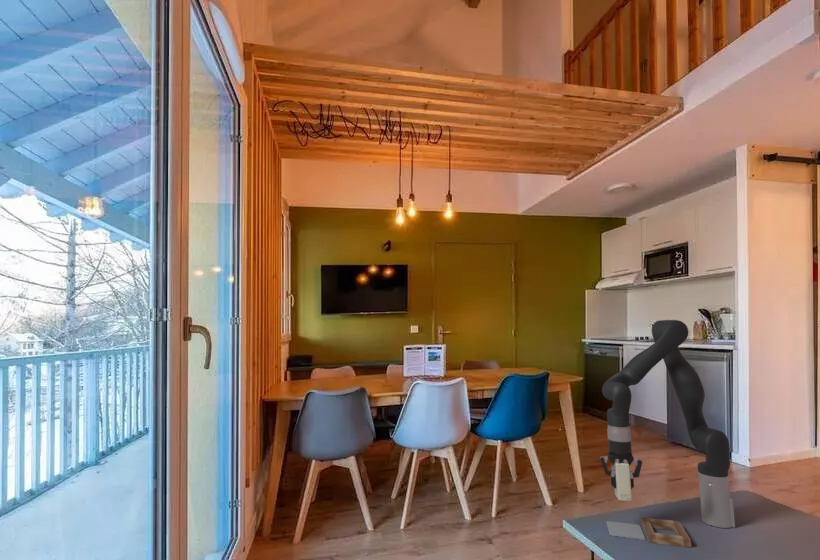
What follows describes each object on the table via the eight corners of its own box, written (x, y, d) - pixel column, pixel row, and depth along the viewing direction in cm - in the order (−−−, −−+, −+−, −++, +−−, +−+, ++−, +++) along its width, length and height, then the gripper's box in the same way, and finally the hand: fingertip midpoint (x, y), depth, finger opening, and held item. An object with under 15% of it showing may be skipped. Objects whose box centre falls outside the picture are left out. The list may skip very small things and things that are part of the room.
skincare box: (632, 501, 152) (630, 465, 153) (618, 500, 153) (616, 464, 154) (627, 494, 158) (625, 459, 159) (614, 494, 159) (612, 459, 160)
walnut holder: (679, 528, 155) (679, 521, 155) (691, 547, 142) (690, 539, 142) (641, 524, 159) (641, 517, 159) (649, 542, 146) (649, 534, 146)
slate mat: (639, 526, 158) (639, 524, 158) (645, 540, 147) (645, 538, 147) (606, 522, 161) (606, 521, 161) (609, 535, 151) (609, 534, 151)
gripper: (639, 437, 159) (642, 486, 157) (596, 434, 163) (599, 482, 162) (643, 442, 152) (647, 494, 150) (598, 439, 156) (601, 489, 155)
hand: (622, 487), depth 156 cm, fingers closed on skincare box, 4 cm apart
